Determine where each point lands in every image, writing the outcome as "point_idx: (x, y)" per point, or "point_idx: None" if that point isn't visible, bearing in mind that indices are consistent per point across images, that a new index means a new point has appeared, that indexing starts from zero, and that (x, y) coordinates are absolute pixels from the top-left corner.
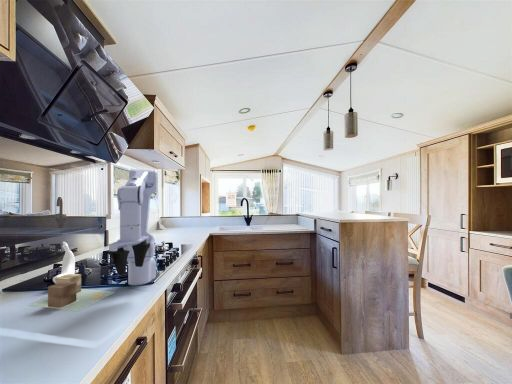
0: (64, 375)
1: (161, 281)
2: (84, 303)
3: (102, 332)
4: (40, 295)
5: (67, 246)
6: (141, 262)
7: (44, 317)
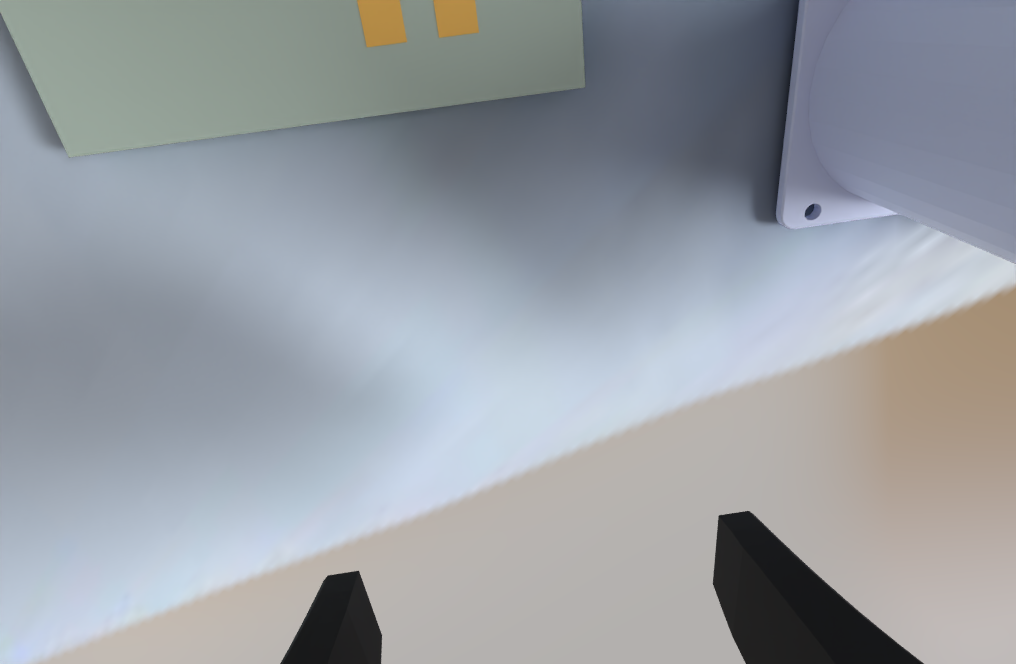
0: None
1: None
2: (206, 35)
3: (106, 534)
4: None
5: None
6: (744, 648)
7: None
